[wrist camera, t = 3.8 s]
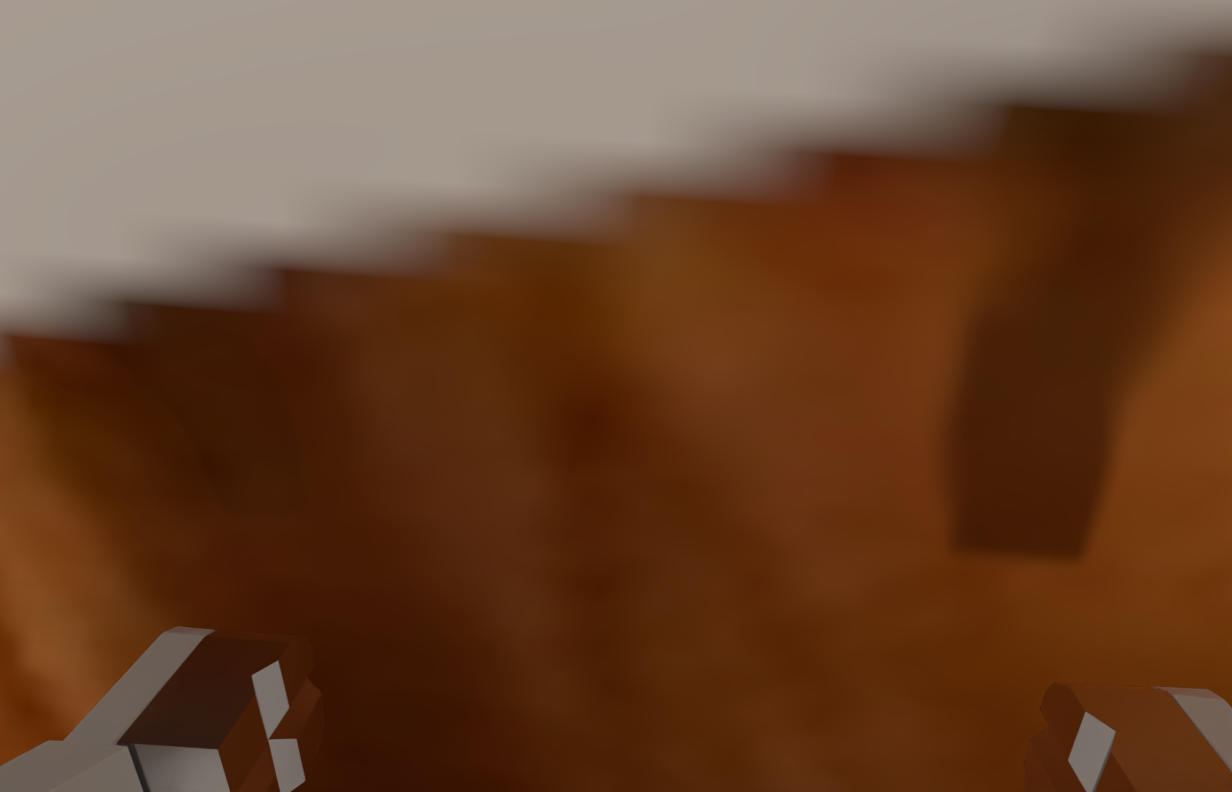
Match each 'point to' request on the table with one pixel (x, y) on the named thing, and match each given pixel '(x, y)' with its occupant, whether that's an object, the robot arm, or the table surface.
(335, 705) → the table surface
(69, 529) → the table surface
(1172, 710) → the robot arm
